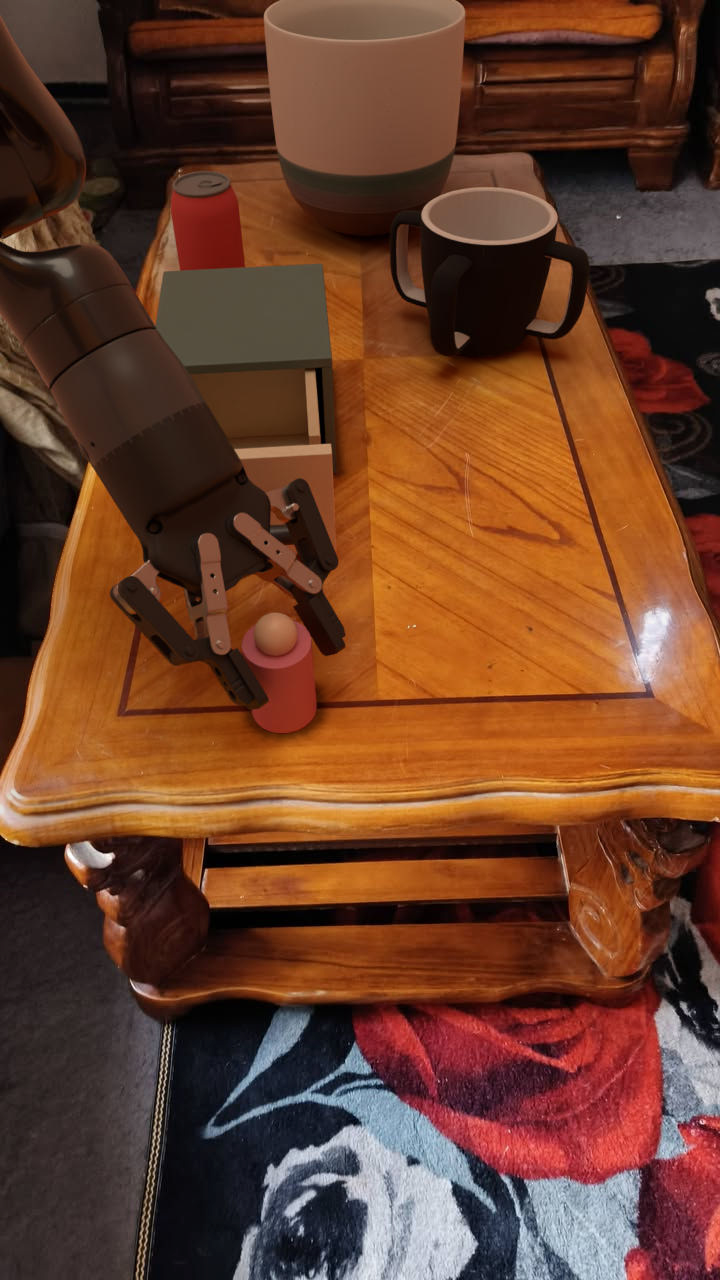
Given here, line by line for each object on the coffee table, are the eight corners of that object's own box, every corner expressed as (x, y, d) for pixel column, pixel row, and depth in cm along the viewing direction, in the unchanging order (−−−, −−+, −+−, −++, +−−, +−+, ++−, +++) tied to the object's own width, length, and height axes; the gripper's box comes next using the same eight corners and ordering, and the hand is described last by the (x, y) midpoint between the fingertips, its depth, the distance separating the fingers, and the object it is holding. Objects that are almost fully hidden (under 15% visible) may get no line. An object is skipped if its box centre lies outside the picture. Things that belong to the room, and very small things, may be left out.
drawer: (340, 597, 68) (336, 498, 61) (164, 608, 67) (141, 510, 61) (327, 438, 81) (322, 343, 74) (179, 446, 80) (162, 352, 74)
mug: (584, 372, 89) (606, 244, 80) (415, 389, 88) (418, 261, 79) (535, 290, 100) (550, 170, 91) (384, 304, 99) (384, 184, 90)
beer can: (253, 311, 98) (240, 191, 89) (189, 320, 97) (170, 199, 88) (243, 282, 102) (230, 165, 94) (182, 290, 101) (163, 172, 93)
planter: (262, 258, 106) (242, 37, 91) (299, 185, 120) (286, -17, 105) (445, 268, 104) (456, 43, 88) (461, 193, 118) (473, -13, 102)
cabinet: (336, 473, 79) (331, 357, 71) (171, 482, 78) (148, 367, 71) (327, 372, 90) (322, 263, 82) (182, 380, 89) (163, 270, 81)
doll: (251, 735, 60) (237, 647, 54) (251, 685, 63) (238, 596, 57) (317, 731, 60) (311, 642, 55) (315, 681, 63) (308, 591, 57)
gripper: (52, 466, 48) (228, 744, 51) (268, 360, 55) (413, 609, 58) (26, 503, 55) (183, 747, 58) (222, 403, 62) (354, 626, 64)
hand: (297, 677), depth 58 cm, fingers open, 5 cm apart
